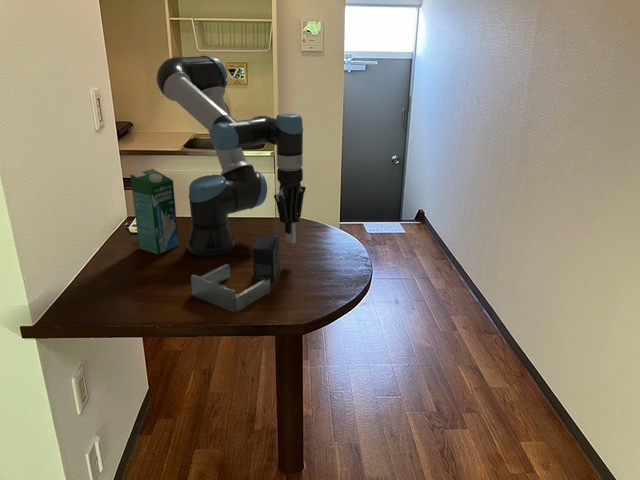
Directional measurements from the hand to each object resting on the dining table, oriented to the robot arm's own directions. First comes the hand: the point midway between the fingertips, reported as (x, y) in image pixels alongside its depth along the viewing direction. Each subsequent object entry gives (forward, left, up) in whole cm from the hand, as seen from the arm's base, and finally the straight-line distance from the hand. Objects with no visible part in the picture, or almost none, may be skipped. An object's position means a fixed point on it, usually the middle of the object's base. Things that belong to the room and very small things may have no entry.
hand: (290, 241), depth 164 cm
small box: (0, -11, -7) cm, 13 cm away
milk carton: (-41, -17, -7) cm, 45 cm away
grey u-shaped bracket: (0, -26, -6) cm, 27 cm away
